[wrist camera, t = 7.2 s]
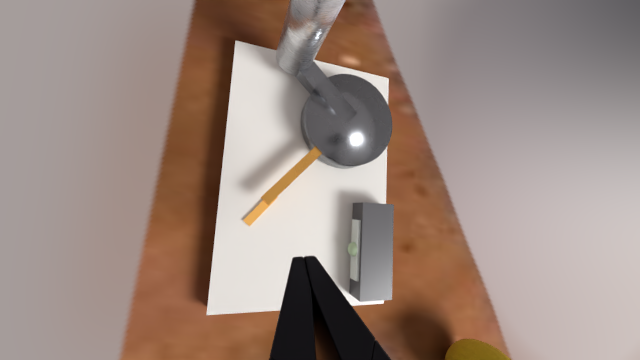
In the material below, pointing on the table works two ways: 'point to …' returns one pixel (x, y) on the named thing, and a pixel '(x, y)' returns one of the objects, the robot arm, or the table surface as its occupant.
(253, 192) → the stand
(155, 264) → the table surface
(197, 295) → the table surface
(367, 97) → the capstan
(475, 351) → the lemon
